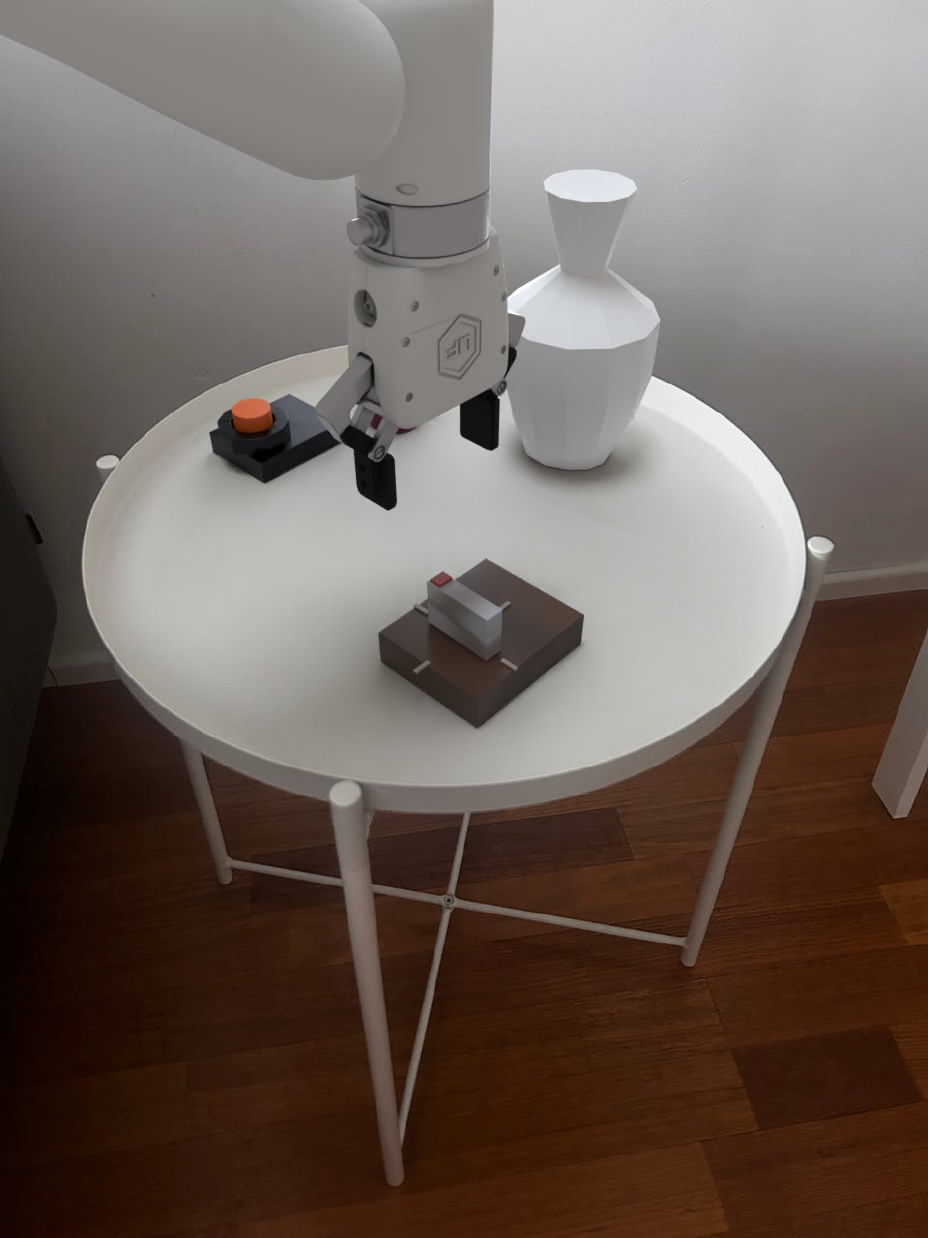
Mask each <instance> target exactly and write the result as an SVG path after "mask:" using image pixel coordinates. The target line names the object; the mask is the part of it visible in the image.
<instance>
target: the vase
mask: <svg viewBox="0 0 928 1238" xmlns="http://www.w3.org/2000/svg"><path fill="white" fill-rule="evenodd" d="M542 183H543V188H544V193H545V197H546V203H547V208H548V213H549V218H550V223H551V228H552V233H553V238H554V242H555V248H556V253H557V258H558V263H559V264H557V265H556V266H554V267H552V268H550V269H549V270H547V271H545V272H544V273H542V274H540V275H539V276H537V277H535V278H534V279H532V280H530V281H528V282H527V283H525V284H524V285H522V286H520V287H518V288H517V289H516V290H514V291H513V292H512V294H510V295H509V296H507V302H508V311H511V312H514V313H516V314H519V315H521V316H523V317H525V321H526V322H525V326H524V329H523V332H522V335H521V338H520V340H519V343H518V346H516V347H515V349H516V351H517V356H516V359H515V361H514V363H513V365H512V367H511V368H510V370H509V372H508V374H507V376H506V377H505V379H506V381H507V389H506V392H507V395H508V399H509V402H510V408H511V416H512V418H513V421H514V424H515V426H516V429H517V432H518V434H519V437H520V439H521V442H522V444H523V449H524V452H525V454H526V455H527V456H528V457H530V458H531V459H533V460H535V462H538V463H539V464H541V465H543V466H545V467H550V468H555V469H559V470H565V471H587V470H591V469H593V468H596V467H599V466H601V465H604V463H605V462H606V460H607V459H608V458H609V456H610V454H611V453H612V451H613V449H614V448H615V446H616V445H617V444H618V442H619V441H620V439H621V437H622V436H623V434H624V433H625V432H626V430H627V428H628V427H629V426H630V424H631V423H632V421H633V420H634V418H635V415H636V414H637V410H638V409H639V406H640V404H641V402H642V400H643V397H644V395H645V393H646V390H647V388H648V386H649V384H650V381H651V379H652V375H653V369H654V364H655V359H656V354H657V346H658V342H659V341H658V340H659V335H660V334H659V333H660V326H661V318H660V316H659V313H658V311H657V309H656V307H655V304H654V302H653V301H652V300H651V299H650V298H649V297H647V296H646V295H644V293H642V292H641V291H639V290H638V289H637V288H635V287H634V286H633V285H632V284H630V283H629V282H627V281H626V280H625V279H624V278H622V276H620V275H618V274H617V273H616V272H614V271H613V270H612V269H611V268H609V264H610V262H611V258H612V256H613V254H614V251H615V249H616V246H617V244H618V240H619V238H620V236H621V233H622V230H623V228H624V225H625V222H626V220H627V217H628V215H629V212H630V210H631V207H632V204H633V202H634V199H635V196H636V194H637V191H638V187H637V185H636V183H635V181H634V179H632V178H629V177H627V176H625V175H623V174H621V173H618V172H613V171H607V170H600V169H596V168H595V169H594V168H593V169H570V170H565V171H561V172H556V173H552V174H551V175H549V177H547V178H546V179H544V180H543V182H542Z"/></svg>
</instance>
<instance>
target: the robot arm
mask: <svg viewBox="0 0 928 1238" xmlns="http://www.w3.org/2000/svg"><path fill="white" fill-rule="evenodd" d="M494 1H495V0H0V36H2V37H5V38H7V39H9V40H11V41H14V42H15V43H17V44H19V45H22V46H24V47H27V48H29V49H31V50H34V51H36V52H38V53H40V54H43V55H45V56H47V57H49V58H51V59H53V60H56V61H58V62H60V63H62V64H64V65H66V66H68V67H70V68H72V69H74V70H76V71H78V72H79V73H81V74H84V75H86V76H88V77H89V78H91V79H93V80H95V81H97V82H99V83H101V84H103V85H104V86H106V87H109V88H110V89H113V90H114V91H116V92H118V93H120V94H122V95H124V96H126V97H128V98H130V99H132V100H134V101H136V102H137V103H139V104H141V105H143V106H145V107H146V108H147V107H148V108H149V109H151V110H153V111H155V112H157V113H159V114H161V115H163V116H165V117H168V118H169V119H171V120H173V121H175V122H177V123H179V124H182V125H183V126H185V127H187V128H190V129H192V130H194V131H196V132H198V133H200V134H202V135H205V136H206V137H209V138H210V139H213V140H215V141H216V142H220V143H222V144H224V145H226V146H228V147H231V148H232V149H235V150H236V151H239V152H240V153H243V154H245V155H247V156H250V157H251V158H254V159H256V160H257V161H260V162H262V163H264V164H267V165H269V166H270V167H273V168H275V169H278V170H280V171H282V172H285V173H286V174H290V175H292V176H295V177H298V178H301V179H306V180H314V181H334V180H340V179H344V178H348V177H351V176H354V185H355V186H354V189H355V204H356V218H354V219H352V220H349V221H348V223H347V225H346V234H347V237H348V239H349V241H350V242H351V243H352V244H353V245H354V246H356V248H355V249H353V251H352V259H351V265H350V275H349V283H348V286H349V287H348V297H347V298H348V299H347V300H348V301H347V358H348V359H347V360H348V368H346V369H345V371H344V372H343V373H342V374H341V375H340V377H339V378H338V379H337V380H336V382H334V384H333V385H332V386H331V387H330V388H329V389H328V391H326V393H325V394H324V395H323V396H322V397H321V398H320V400H318V402H317V403H316V404H315V406H314V407H315V413H316V415H317V417H318V418H319V419H320V421H321V422H322V424H323V425H324V426H325V428H326V429H327V430H328V431H329V435H330V436H331V437H332V438H334V439H336V440H338V441H339V442H341V443H340V444H343V445H345V446H347V447H348V448H350V449H352V450H353V461H354V472H355V473H354V474H355V485H356V488H357V492H358V494H360V496H362V497H364V498H366V499H367V500H369V501H370V502H372V503H374V504H375V505H377V506H378V507H380V508H381V509H384V510H385V511H387V512H389V511H392V510H393V509H395V508H396V507H397V504H398V492H397V490H398V489H397V472H396V459H395V457H394V455H393V454H391V453H389V452H388V451H389V450H390V447H391V446H392V443H393V441H394V439H395V437H396V435H397V434H396V433H397V431H398V428H399V427H400V428H403V429H410V428H414V427H416V428H417V427H419V426H421V425H424V424H425V423H428V422H429V421H431V420H433V419H435V418H437V417H439V416H441V415H444V414H445V413H447V412H449V411H450V410H452V409H454V408H457V407H458V406H459V434H460V437H462V438H463V439H465V440H467V441H469V442H471V443H473V444H474V445H477V446H479V447H481V448H482V449H484V450H486V451H488V452H489V451H490V452H493V451H494V450H496V449H499V445H500V413H501V412H500V411H501V410H500V409H501V398H499V397H501V396H503V395H504V394H505V393H506V392H507V381H506V379H505V377H506V376H507V374H508V372H509V370H510V368H511V367H512V365H513V363H514V361H515V359H516V356H517V351H516V349H515V347H516V346H518V343H519V340H520V338H521V335H522V332H523V329H524V326H525V322H526V321H525V317H523V316H521V315H519V314H516V313H514V312H511V311H508V302H507V298H508V290H507V279H506V269H505V262H504V256H503V251H502V245H501V240H500V237H499V232H498V230H497V228H496V227H494V226H492V225H491V190H492V189H491V185H492V183H491V182H492V142H493V141H492V140H493V139H492V138H493V137H492V135H493V89H494V88H493V84H494V37H495V34H494V33H495V32H494V31H495V2H494ZM378 402H380V404H378ZM356 405H357V406H356ZM355 406H356V409H355V410H354V413H353V415H352V417H351V412H352V410H353V408H354V407H355ZM375 414H377V415H379V416H381V417H383V418H382V420H381V422H380V424H379V426H378V428H377V430H375V432H374V434H373V437H372V436H371V435H369V434H367V432H368V430H369V427H370V426H371V421H372V419H373V417H374V415H375Z"/></svg>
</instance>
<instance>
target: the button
mask: <svg viewBox="0 0 928 1238" xmlns="http://www.w3.org/2000/svg"><path fill="white" fill-rule="evenodd" d="M269 403H270V402H268V401H266V400H265V399H262V398H246V399H242V400H240V401H238V402H236V403H234V404H233V406H232V407H231V409H232V416H233V422H234V427H235V429H236V430H237V431H239V432H246V433H253V432H259V431H264V430H266V429H268V428H270V427H271V426H272V424H273V420H272V413H271V406H270V404H269Z"/></svg>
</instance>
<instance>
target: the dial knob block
mask: <svg viewBox="0 0 928 1238" xmlns="http://www.w3.org/2000/svg"><path fill="white" fill-rule="evenodd" d="M454 580H456V581H458V582H459V583H461V584H462V585H464V586H466V587H467V588H469V589H470V590H472V591H473V592H475V593H477V594H478V595H480V596H481V597H483V598H485V599H486V600H488V601H489V602H491V603H492V604H494V605H496V606H497V607H499V608H500V609H502V634H501V651H499V652H498V653H497V654H495V655H494V656H493V657H491V658H490V659H489V660H487V661H485V660H484V659H482V658H481V657H479V656H478V655H476V654H475V653H473V652H472V651H470V650H469V649H467V648H466V647H464V646H463V645H462V644H460V643H459V642H457V641H456V640H454V639H453V638H451V637H450V636H448V635H447V634H445V633H444V632H442V631H441V630H439V629H438V628H436V627H435V626H433V625H432V624H430V623H429V622H428V598H426V599H425V600H424V601H422V602H420V603H417V602H416V603H414V604H413V608H412V609H410V610H409V611H408V612H406V613H405V614H403V615H402V616H400V617H399V618H397V619H396V620H394V621H393V622H391V623H390V624H388V625H387V626H386V627H384V628H382V629H381V630H380V631H379V632H378V633H377V635H378V647H379V659H380V662H381V663H383V664H384V665H385V666H387V667H388V668H389V669H391V670H393V671H394V672H395V673H397V674H398V675H400V676H401V677H403V678H404V679H406V680H407V681H408V682H410V683H412V684H413V685H414V686H416V687H418V688H419V689H420V690H422V691H423V692H424V693H426V694H427V695H429V696H430V697H432V698H433V699H435V701H437V702H439V703H440V704H442V705H443V706H445V707H446V708H448V709H449V710H450V711H452V712H453V713H455V714H456V715H458V716H459V717H461V718H462V719H463V720H465V721H467V722H468V723H469V724H470V725H472V726H474V727H475V728H479V727H480V726H482V725H483V724H484V723H486V722H487V721H488V720H489V719H491V718H492V717H493V716H494V715H495V714H496V713H497V712H500V710H502V708H504V707H505V706H507V705H508V704H509V703H510V702H511V701H513V700H514V699H515V698H516V697H518V695H520V694H521V693H522V692H524V691H525V690H526V689H527V688H528V687H529V686H531V685H532V684H533V683H535V682H536V681H537V680H538V679H539V678H540V677H542V676H543V675H544V674H546V672H548V671H549V670H550V669H552V668H553V667H554V666H555V665H556V664H557V663H559V662H560V661H561V660H562V659H564V658H565V656H566V657H567V655H569V654H570V653H571V652H572V651H573V650H575V649H576V648H577V647H578V646H580V644H582V637H583V630H584V629H583V628H584V620H585V614H584V613H582V612H580V611H578V610H577V609H575V608H573V607H572V606H570V605H568V604H566V603H564V602H563V601H561V600H559V599H558V598H556V597H555V596H553V595H551V594H549V593H547V592H545V591H544V590H542V589H540V588H539V587H537V586H535V585H533V584H532V583H530V582H528V581H526V580H525V579H523V578H521V577H519V576H518V575H516V574H514V573H512V572H511V571H509V570H507V569H506V568H504V567H502V566H500V565H498V564H496V563H495V562H493V561H492V560H490V559H488V558H484V559H483V560H481V561H480V562H479V563H477V564H475V565H474V566H473V567H471V568H470V569H469V570H467V571H466V572H464V573H463V574H460V576H458V577H457V578H454Z"/></svg>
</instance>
